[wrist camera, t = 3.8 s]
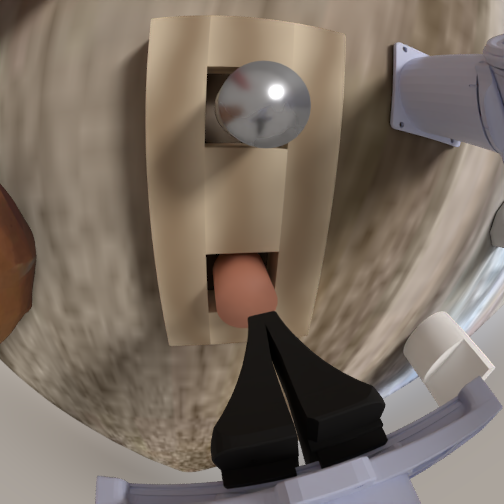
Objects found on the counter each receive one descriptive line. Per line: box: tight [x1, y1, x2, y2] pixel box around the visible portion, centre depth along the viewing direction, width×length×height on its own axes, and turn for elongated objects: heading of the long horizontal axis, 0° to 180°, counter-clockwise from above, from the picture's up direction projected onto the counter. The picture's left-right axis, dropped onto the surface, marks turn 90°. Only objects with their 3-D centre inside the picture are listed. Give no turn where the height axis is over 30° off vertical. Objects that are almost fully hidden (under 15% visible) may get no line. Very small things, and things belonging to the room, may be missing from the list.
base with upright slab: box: [403, 312, 495, 407], centre depth 29 cm, size 9×9×12 cm
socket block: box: [146, 16, 346, 346], centre depth 19 cm, size 12×24×3 cm, turn 178°
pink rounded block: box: [213, 252, 278, 328], centre depth 20 cm, size 4×4×4 cm
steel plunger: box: [215, 61, 311, 148], centre depth 13 cm, size 4×4×4 cm
